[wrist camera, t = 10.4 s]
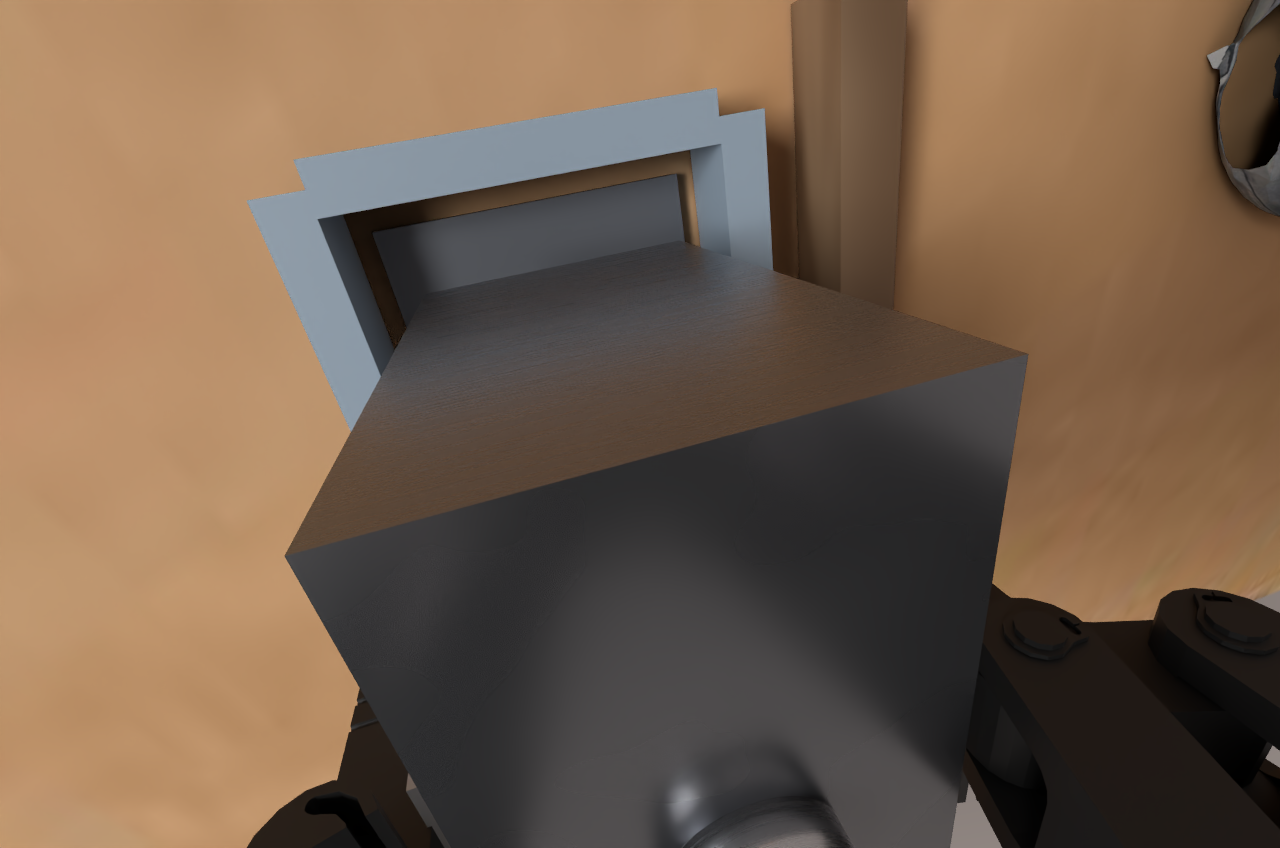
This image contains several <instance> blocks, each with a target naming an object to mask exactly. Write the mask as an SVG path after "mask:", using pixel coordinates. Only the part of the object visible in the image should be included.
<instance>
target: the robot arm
mask: <svg viewBox="0 0 1280 848" xmlns="http://www.w3.org/2000/svg"><path fill="white" fill-rule="evenodd" d="M357 702H358V705H357V706H355V710H354V714H353V718H352V722H351V732H349V734H348V738H347V742H346V746H345V751H344V755H343V759H342V763H341V767H340V771H339V775H338V779H337V780H332V781H330V782H327V783H325V784H322V785H319V786H317V787H314V788H312V789H309V790H306V791H305V792H304V793H302V794H301V795H299V796H298V797H296V798H295V799H294V800H292V801H291V802H289V803H288V804H286V805H285V806H284V807H282V808H281V809H279V810H278V811H277V812H276V813H275V814H274V816H273V817H272V818H271V819H270V820H269V821H268V822H267V823H266V824H265V825H264V826H263V827H262V828H261V829H260V830H259V831H258V832H257V833H256V834H255V835H254V837H253V839H252V840H251V842H250V843H249V845H248V847H247V848H451V847H450V845H449V843H448V842H447V840H446V838H445V836H444V835H443V833H442V831H441V829H440V828H439V826H438V824H437V822H436V821H435V819H434V817H433V815H432V814H431V812H430V810H429V808H428V807H427V805H426V803H425V801H424V800H423V798H422V796H421V794H420V793H419V791H418V789H417V787H416V786H415V784H414V782H413V780H412V778H411V777H410V775H409V773H408V771H407V770H406V768H405V766H404V764H403V763H402V761H401V759H400V757H399V756H398V754H397V752H396V750H395V749H394V747H393V745H392V743H391V742H390V740H389V738H388V736H387V735H386V733H385V731H384V729H383V728H382V726H381V724H380V722H379V721H378V719H377V717H376V715H375V714H374V712H373V710H372V708H371V707H370V705H369V703H368V701H367V700H366V698H365V696H364V694H363V693H362V691H361V689H359V693H358V698H357ZM1272 745H1273V746H1275V747H1276V748H1277V749H1278V750H1280V613H1279V612H1277V611H1274V610H1273V609H1270V608H1268V607H1266V606H1264V605H1262V604H1259V603H1257V602H1255V601H1253V600H1251V599H1248V598H1244V597H1241V596H1237V595H1234V594H1230V593H1226V592H1223V591H1218V590H1208V589H1198V588H1190V589H1183V590H1176V591H1172V592H1171V593H1169V594H1168V595H1166V596H1165V597H1163V598H1162V599H1161V600H1160V603H1159V606H1158V609H1157V611H1156V614H1155V617H1154V620H1142V621H1117V622H1082V621H1081V620H1080V619H1079V618H1078V617H1076V616H1075V615H1073V614H1071V613H1069V612H1067V611H1065V610H1063V609H1061V608H1059V607H1057V606H1054V605H1052V604H1049V603H1045V602H1041V601H1037V600H1033V599H1029V598H1011V597H1009V596H1008V595H1006V594H1005V593H1004V592H1002V591H1001V590H1000V589H999V588H997V587H996V586H995V585H994V584H992V586H991V592H990V598H989V605H988V611H987V617H986V624H985V630H984V636H983V643H982V649H981V655H980V661H979V668H978V674H977V680H976V687H975V693H974V699H973V706H972V712H971V718H970V724H969V731H968V737H967V743H966V750H965V756H964V762H963V769H962V775H961V781H960V787H959V794H958V800H957V803H961V802H965V800H966V795H967V790H968V784H970V785H971V788H972V790H973V792H974V794H975V796H976V800H977V801H979V803H980V805H981V807H982V809H983V811H984V813H985V815H986V817H987V819H988V821H989V823H990V825H991V827H992V828H993V831H994V832H995V834H996V836H997V838H998V840H999V842H1000V844H1001V846H1002V848H1280V768H1279V767H1278V766H1276V765H1274V764H1273V763H1271V762H1270V761H1268V760H1267V759H1265V758H1266V756H1267V754H1268V753H1269V751H1270V749H1271V747H1272Z"/></svg>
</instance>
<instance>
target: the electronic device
mask: <svg viewBox="0 0 1280 848" xmlns="http://www.w3.org/2000/svg"><path fill="white" fill-rule="evenodd" d="M1279 4H1280V0H1253V1H1252V3H1251V6H1250V8H1249V10H1248V12H1247V14H1246V15H1245V17H1244V19H1243V22H1242V25H1241V28H1240V31H1239V33H1238V35H1237V37H1236V38H1235V40H1234V42H1233V43H1232V44H1231V45H1230V46H1229V45H1227V46H1225V47H1223V48H1221V49H1219V50H1217V51H1215V52H1213V53H1211V54H1209V55H1207V57H1208V59H1209V61H1210V63H1211V65H1212V67H1213V68H1215V69H1220V86H1219V91H1218V95H1217V99H1216V110H1217V127H1218V146H1219V151H1220V155H1221V160H1222V163H1223V165H1224V167H1225V169H1226V171H1227V173H1228V176H1229V178H1230V180H1231V181H1232V184H1233V185H1234V186H1236V187H1237V189H1238V190H1239V191H1240V193H1241V194H1242V195H1243V197H1245V198H1246V199H1248V200H1249V201H1250V202H1251V203H1253V204H1254V205H1255V206H1256V207H1258V208H1259V209H1261V210H1263V211H1265V212H1268V213H1270V214H1273V215H1276V216H1280V143H1279V147H1278V150H1277V152H1276V153H1275V155H1274V156H1273V157H1272V159H1271V160H1270V161H1269V162H1268V164H1267V165H1265V166H1261V167H1258V168H1254V169H1250V170H1247V169H1239V168H1233V167H1232V166H1231V165H1230V164H1229V162H1228V160H1227V158H1226V157H1225V152H1224V147H1223V142H1222V136H1221V132H1220V124H1219V121H1220V105H1221V98H1222V93H1223V90H1224V88H1225V86H1226V84H1227V82H1228V79H1229V77H1230V75H1231V72H1232V70H1233V67H1234V65H1235V62H1236V59H1237V52H1238V46H1239V44H1240V43H1241V41H1242V40H1243V38H1244V37H1245V36H1246V35H1247V34H1248V33H1249V32H1250V31H1251V30H1252V29H1253V27H1254V26H1256V25H1257V24H1258V23H1259V22H1260V21H1261V20H1262V19H1263V18H1264V17H1265V16H1267V15H1268V14H1269V13H1270V12H1271V11H1272V10H1273V9H1274V8H1275V7H1277V6H1278V5H1279ZM1275 69H1276V72H1277V73H1276V79H1275V84H1274V89H1273V96H1274V99H1276V98H1278V104H1279V114H1280V55H1279V57H1278V58H1277V60H1276V63H1275Z"/></svg>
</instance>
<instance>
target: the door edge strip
mask: <svg viewBox="0 0 1280 848" xmlns="http://www.w3.org/2000/svg"><path fill="white" fill-rule="evenodd" d="M907 2H908V0H798V1H796V2H794V3H792V4H791V26H792V58H793V90H794V122H795V154H796V186H797V217H798V249H799V279H800V280H803V281H806V282H809V283H812V284H815V285H818V286H821V287H824V288H827V289H830V290H834V291H837V292H840V293H843V294H846V295H849V296H852V297H855V298H858V299H861V300H864V301H867V302H870V303H873V304H876V305H879V306H883V307H886V308H889V309H892V310H893V306H894V284H895V262H896V241H897V219H898V197H899V176H900V154H901V132H902V111H903V89H904V67H905V45H906V24H907Z"/></svg>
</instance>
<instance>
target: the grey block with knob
mask: <svg viewBox="0 0 1280 848" xmlns="http://www.w3.org/2000/svg"><path fill="white" fill-rule="evenodd" d="M1027 359H1028V354H1027V353H1023V352H1020V351H1017V350H1014V349H1011V348H1008V347H1005V346H1002V345H999V344H996V343H993V342H990V341H987V340H984V339H981V338H978V337H974V336H971V335H968V334H965V333H962V332H959V331H956V330H953V329H950V328H947V327H944V326H941V325H938V324H935V323H932V322H929V321H925V320H922V319H919V318H916V317H913V316H910V315H907V314H904V313H901V312H898V311H895V310H892V309H889V308H886V307H883V306H879V305H876V304H873V303H870V302H867V301H864V300H861V299H858V298H855V297H852V296H849V295H846V294H843V293H840V292H837V291H834V290H830V289H827V288H824V287H821V286H818V285H815V284H812V283H809V282H806V281H803V280H800V279H797V278H794V277H791V276H788V275H784V274H781V273H778V272H775V271H772V270H769V269H766V268H763V267H760V266H757V265H754V264H751V263H748V262H745V261H742V260H739V259H735V258H732V257H729V256H726V255H723V254H720V253H717V252H714V251H711V250H708V249H705V248H702V247H699V246H696V245H693V244H690V243H686V242H683V241H680V240H679V241H674V242H670V243H665V244H660V245H655V246H651V247H646V248H641V249H636V250H632V251H627V252H622V253H617V254H613V255H608V256H603V257H598V258H594V259H589V260H584V261H579V262H575V263H570V264H565V265H560V266H556V267H551V268H546V269H541V270H537V271H532V272H527V273H522V274H518V275H513V276H508V277H503V278H499V279H494V280H489V281H484V282H480V283H475V284H470V285H465V286H461V287H456V288H451V289H446V290H442V291H437V292H432V293H427V294H425V295H424V297H423V299H422V301H421V303H420V305H419V306H418V308H417V310H416V312H415V314H414V316H413V318H412V319H411V321H410V323H409V325H408V327H407V329H406V331H405V333H404V334H403V336H402V338H401V340H400V342H399V344H398V346H397V347H396V349H395V351H394V353H393V355H392V357H391V359H390V360H389V362H388V364H387V366H386V368H385V370H384V372H383V374H382V375H381V377H380V379H379V381H378V383H377V385H376V387H375V388H374V390H373V392H372V394H371V396H370V398H369V400H368V401H367V403H366V405H365V407H364V409H363V411H362V413H361V414H360V416H359V418H358V420H357V422H356V424H355V426H354V428H353V429H352V431H351V433H350V435H349V437H348V439H347V441H346V442H345V444H344V446H343V448H342V450H341V452H340V454H339V455H338V457H337V459H336V461H335V463H334V465H333V467H332V468H331V470H330V472H329V474H328V476H327V478H326V480H325V482H324V483H323V485H322V487H321V489H320V491H319V493H318V495H317V496H316V498H315V500H314V502H313V504H312V506H311V508H310V509H309V511H308V513H307V515H306V517H305V519H304V521H303V522H302V524H301V526H300V528H299V530H298V532H297V534H296V536H295V537H294V539H293V541H292V543H291V545H290V547H289V549H288V550H287V552H286V554H285V558H286V559H287V561H288V563H289V565H290V566H291V568H292V570H293V572H294V573H295V575H296V577H297V579H298V580H299V582H300V584H301V586H302V587H303V589H304V591H305V593H306V595H307V596H308V598H309V600H310V602H311V603H312V605H313V607H314V609H315V610H316V612H317V614H318V616H319V617H320V619H321V621H322V623H323V624H324V626H325V628H326V630H327V631H328V633H329V635H330V637H331V638H332V640H333V642H334V644H335V645H336V647H337V649H338V651H339V652H340V654H341V656H342V658H343V659H344V661H345V663H346V665H347V666H348V668H349V670H350V672H351V673H352V675H353V677H354V679H355V680H356V682H357V684H358V686H359V687H360V689H361V691H362V693H363V694H364V696H365V698H366V700H367V701H368V703H369V705H370V707H371V708H372V710H373V712H374V714H375V715H376V717H377V719H378V721H379V722H380V724H381V726H382V728H383V729H384V731H385V733H386V735H387V736H388V738H389V740H390V742H391V743H392V745H393V747H394V749H395V750H396V752H397V754H398V756H399V757H400V759H401V761H402V763H403V764H404V766H405V768H406V770H407V771H408V773H409V775H410V777H411V778H412V780H413V782H414V784H415V786H416V787H417V789H418V791H419V793H420V794H421V796H422V798H423V800H424V801H425V803H426V805H427V807H428V808H429V810H430V812H431V814H432V815H433V817H434V819H435V821H436V822H437V824H438V826H439V828H440V829H441V831H442V833H443V835H444V836H445V838H446V840H447V842H448V843H449V845H450V847H451V848H950V844H951V838H952V831H953V825H954V819H955V813H956V806H957V800H958V794H959V787H960V781H961V775H962V769H963V762H964V756H965V750H966V743H967V737H968V731H969V724H970V718H971V712H972V706H973V699H974V693H975V687H976V680H977V674H978V668H979V661H980V655H981V649H982V643H983V636H984V630H985V624H986V617H987V611H988V605H989V598H990V592H991V586H992V580H993V573H994V567H995V561H996V554H997V548H998V542H999V535H1000V529H1001V523H1002V517H1003V510H1004V504H1005V498H1006V491H1007V485H1008V479H1009V472H1010V466H1011V460H1012V454H1013V447H1014V441H1015V435H1016V428H1017V422H1018V416H1019V409H1020V403H1021V397H1022V391H1023V384H1024V378H1025V372H1026V365H1027Z"/></svg>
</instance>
